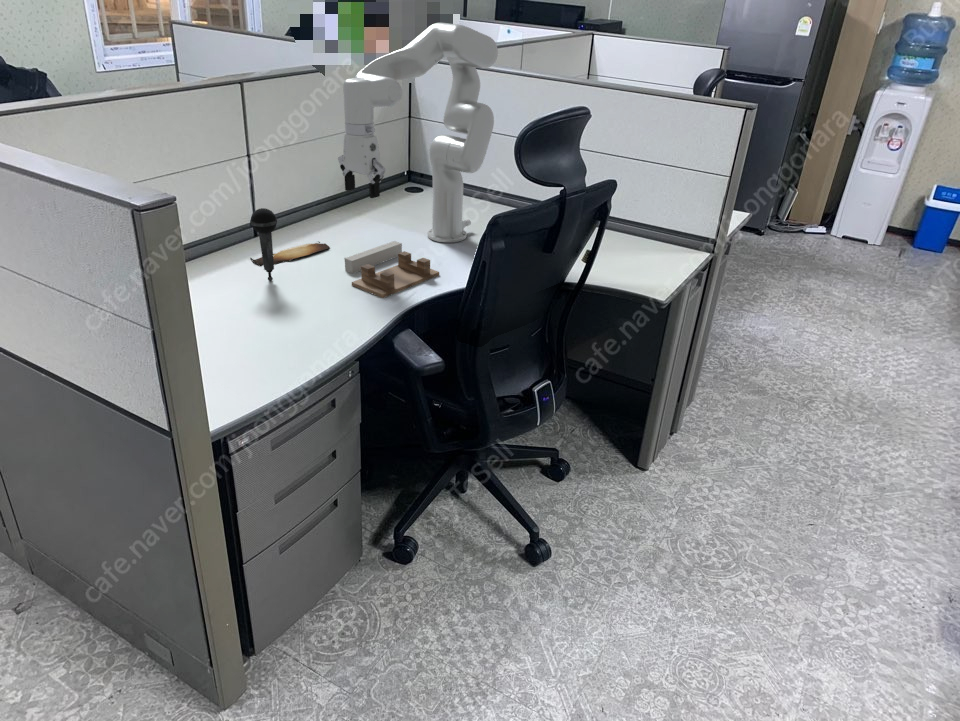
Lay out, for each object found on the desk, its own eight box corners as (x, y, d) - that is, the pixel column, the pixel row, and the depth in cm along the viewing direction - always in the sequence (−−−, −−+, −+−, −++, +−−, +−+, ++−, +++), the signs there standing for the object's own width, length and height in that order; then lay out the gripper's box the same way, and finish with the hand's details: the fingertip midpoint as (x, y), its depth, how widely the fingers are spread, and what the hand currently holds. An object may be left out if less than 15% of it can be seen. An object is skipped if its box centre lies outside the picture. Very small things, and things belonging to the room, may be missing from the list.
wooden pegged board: (408, 264, 209) (408, 247, 207) (439, 275, 203) (439, 258, 200) (351, 285, 194) (350, 268, 192) (383, 298, 188) (382, 280, 185)
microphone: (260, 287, 191) (251, 214, 181) (254, 278, 196) (245, 206, 186) (286, 283, 193) (279, 211, 184) (280, 274, 199) (272, 203, 189)
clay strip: (394, 253, 217) (394, 240, 215) (401, 256, 216) (401, 243, 214) (345, 271, 203) (344, 258, 201) (352, 274, 202) (352, 260, 200)
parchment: (318, 241, 224) (318, 238, 223) (337, 249, 218) (337, 246, 217) (246, 261, 208) (246, 258, 208) (264, 270, 202) (263, 267, 202)
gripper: (393, 132, 186) (394, 197, 195) (348, 122, 196) (351, 184, 204) (372, 136, 181) (374, 203, 189) (326, 125, 190) (330, 189, 199)
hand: (362, 193), depth 197 cm, fingers open, 9 cm apart
